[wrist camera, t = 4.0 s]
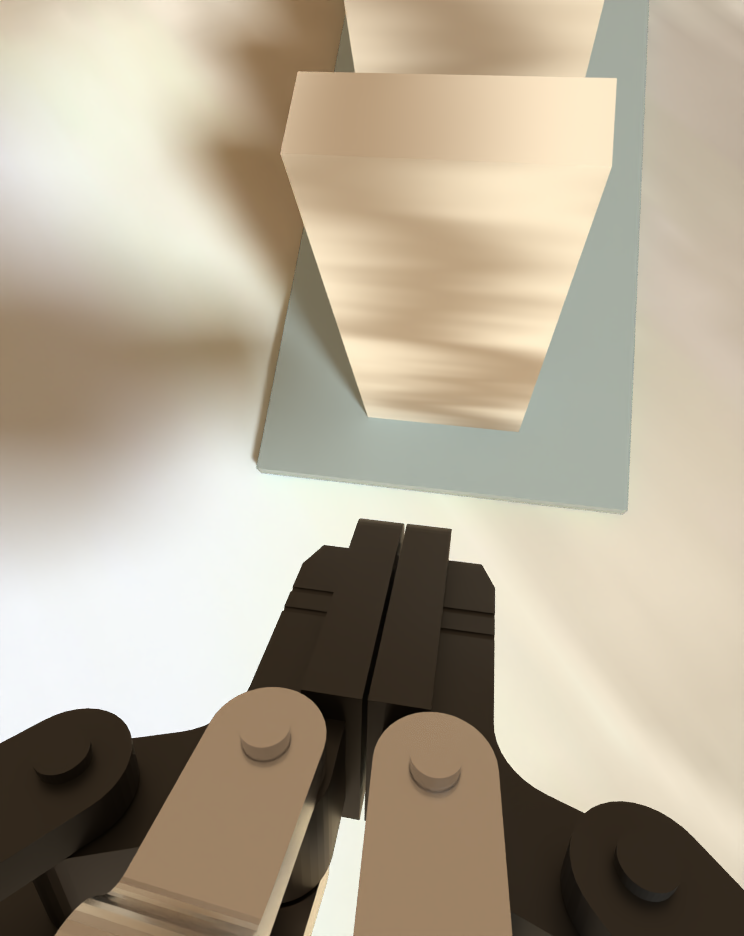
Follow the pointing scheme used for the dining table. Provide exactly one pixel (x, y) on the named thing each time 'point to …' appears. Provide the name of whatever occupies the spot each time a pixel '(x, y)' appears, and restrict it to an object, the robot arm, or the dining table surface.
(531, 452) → the domino board
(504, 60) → the domino
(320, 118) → the domino
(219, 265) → the dining table surface
